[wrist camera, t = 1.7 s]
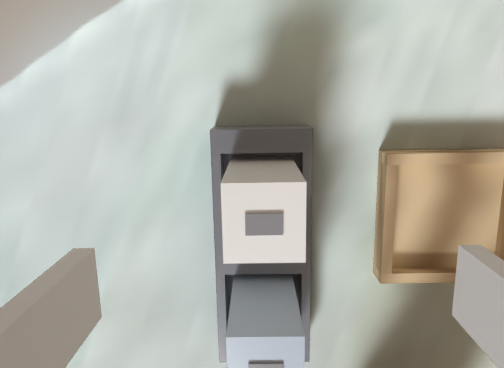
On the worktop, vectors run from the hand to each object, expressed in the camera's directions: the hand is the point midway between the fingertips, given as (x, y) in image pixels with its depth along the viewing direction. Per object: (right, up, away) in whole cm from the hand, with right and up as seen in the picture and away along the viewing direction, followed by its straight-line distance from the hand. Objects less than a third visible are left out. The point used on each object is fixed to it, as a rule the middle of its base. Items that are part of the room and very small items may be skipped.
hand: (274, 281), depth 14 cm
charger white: (0, +3, +16) cm, 16 cm away
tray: (+14, +1, +17) cm, 22 cm away
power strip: (0, -5, +18) cm, 19 cm away
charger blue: (0, -6, +18) cm, 18 cm away
